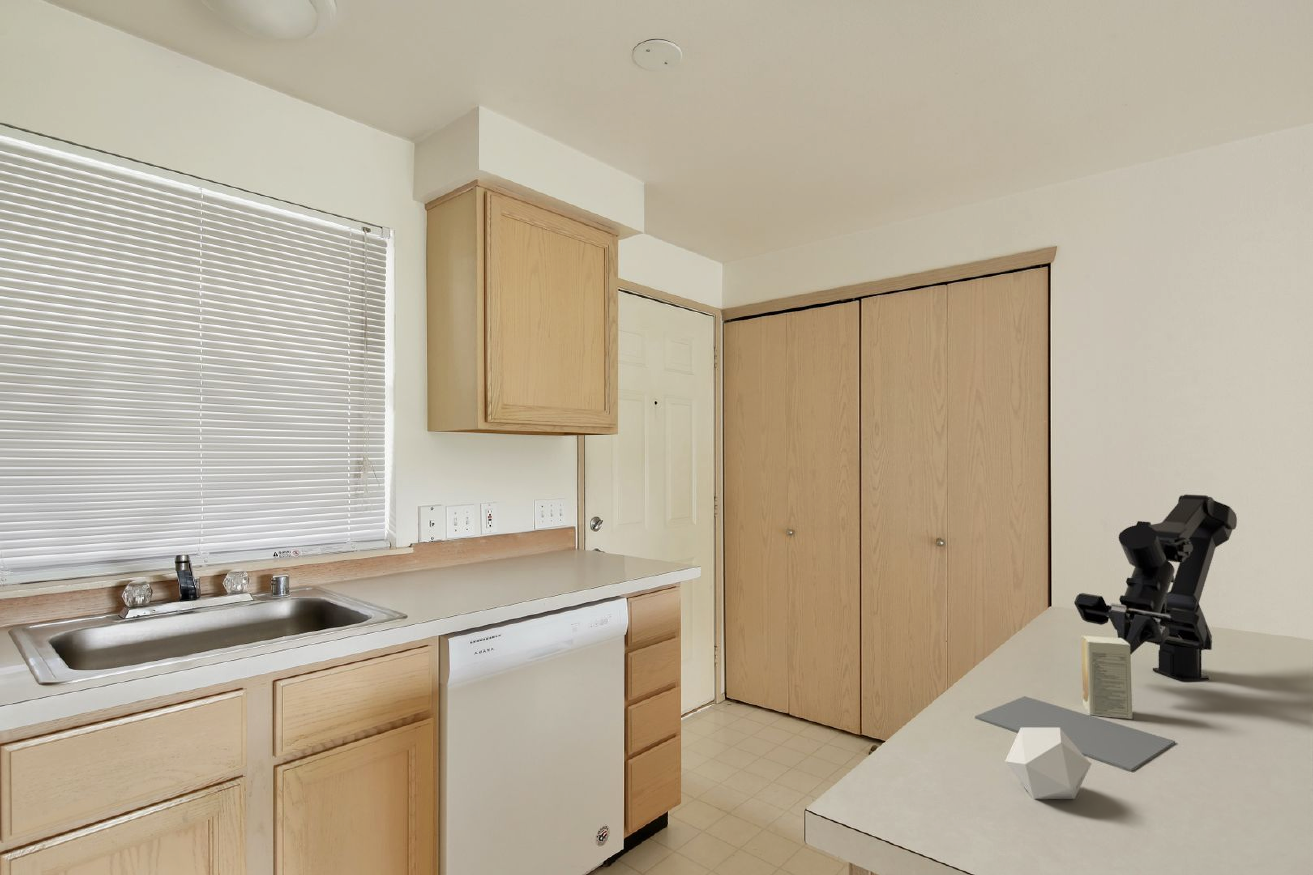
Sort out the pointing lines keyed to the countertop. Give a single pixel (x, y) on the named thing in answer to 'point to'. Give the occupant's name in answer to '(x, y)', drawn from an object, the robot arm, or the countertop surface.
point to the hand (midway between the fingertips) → (1123, 656)
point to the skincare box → (1106, 676)
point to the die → (1047, 763)
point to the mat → (1081, 731)
